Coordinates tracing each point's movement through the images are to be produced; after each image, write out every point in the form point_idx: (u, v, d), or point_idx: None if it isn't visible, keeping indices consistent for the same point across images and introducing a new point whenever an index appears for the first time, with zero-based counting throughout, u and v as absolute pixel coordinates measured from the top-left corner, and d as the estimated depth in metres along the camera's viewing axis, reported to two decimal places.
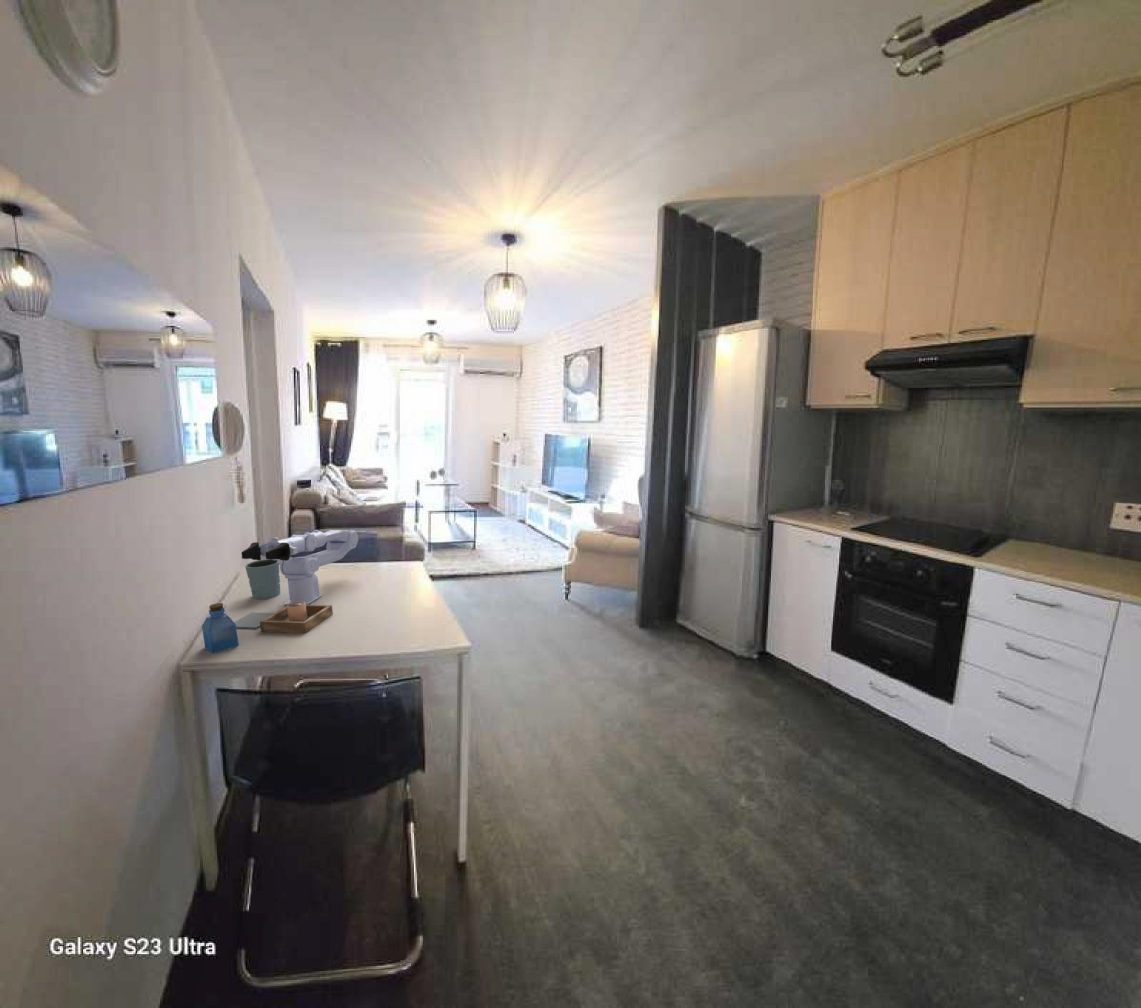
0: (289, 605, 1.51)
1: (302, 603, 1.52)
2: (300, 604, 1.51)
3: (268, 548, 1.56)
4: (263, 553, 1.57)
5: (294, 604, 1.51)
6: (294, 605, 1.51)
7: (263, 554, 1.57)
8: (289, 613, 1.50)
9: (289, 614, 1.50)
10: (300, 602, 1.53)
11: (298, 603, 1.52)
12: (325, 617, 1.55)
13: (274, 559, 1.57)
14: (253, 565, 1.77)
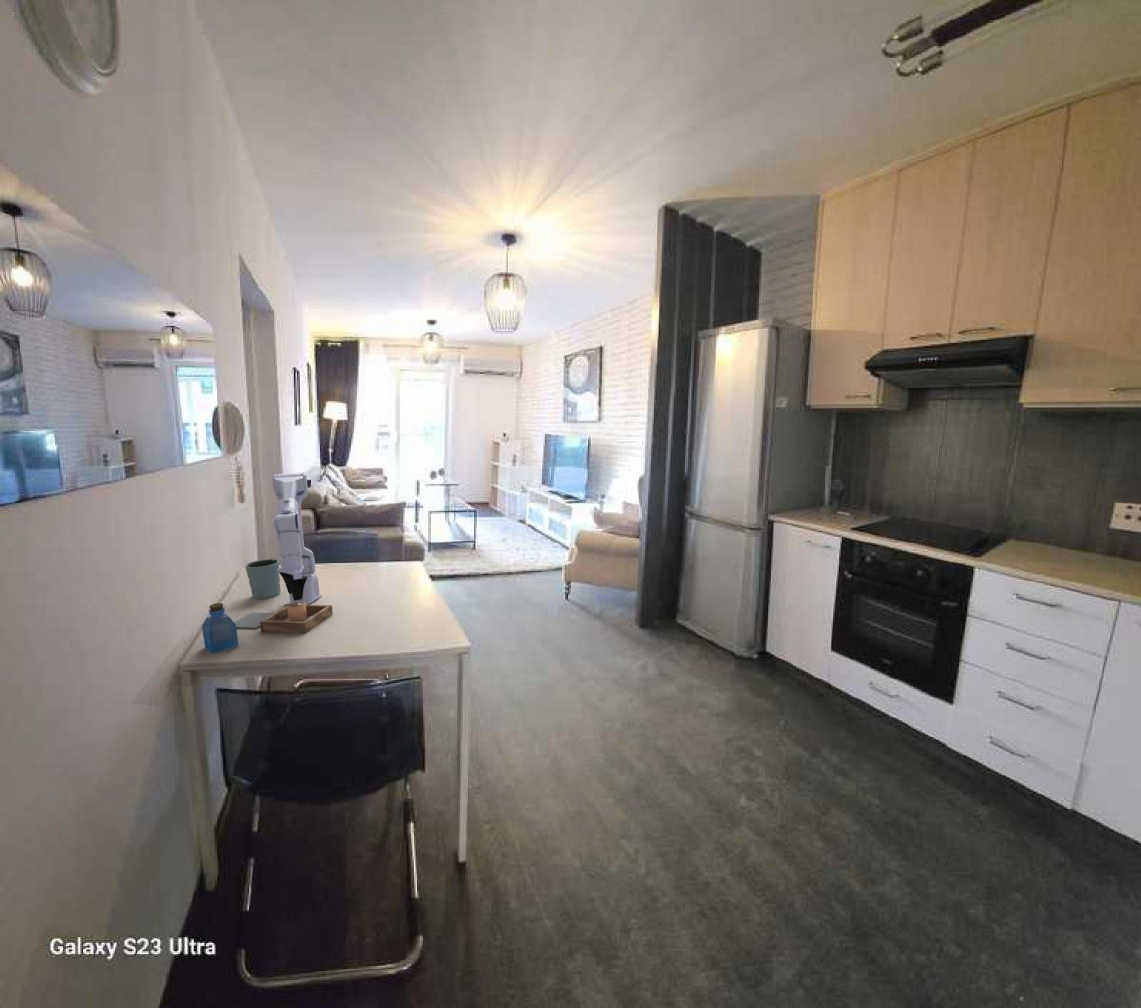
0: (289, 605, 1.51)
1: (302, 603, 1.52)
2: (300, 604, 1.51)
3: None
4: None
5: (294, 604, 1.51)
6: (294, 605, 1.51)
7: None
8: (289, 613, 1.50)
9: (289, 614, 1.50)
10: (300, 602, 1.53)
11: (298, 603, 1.52)
12: (325, 617, 1.55)
13: None
14: (253, 565, 1.77)
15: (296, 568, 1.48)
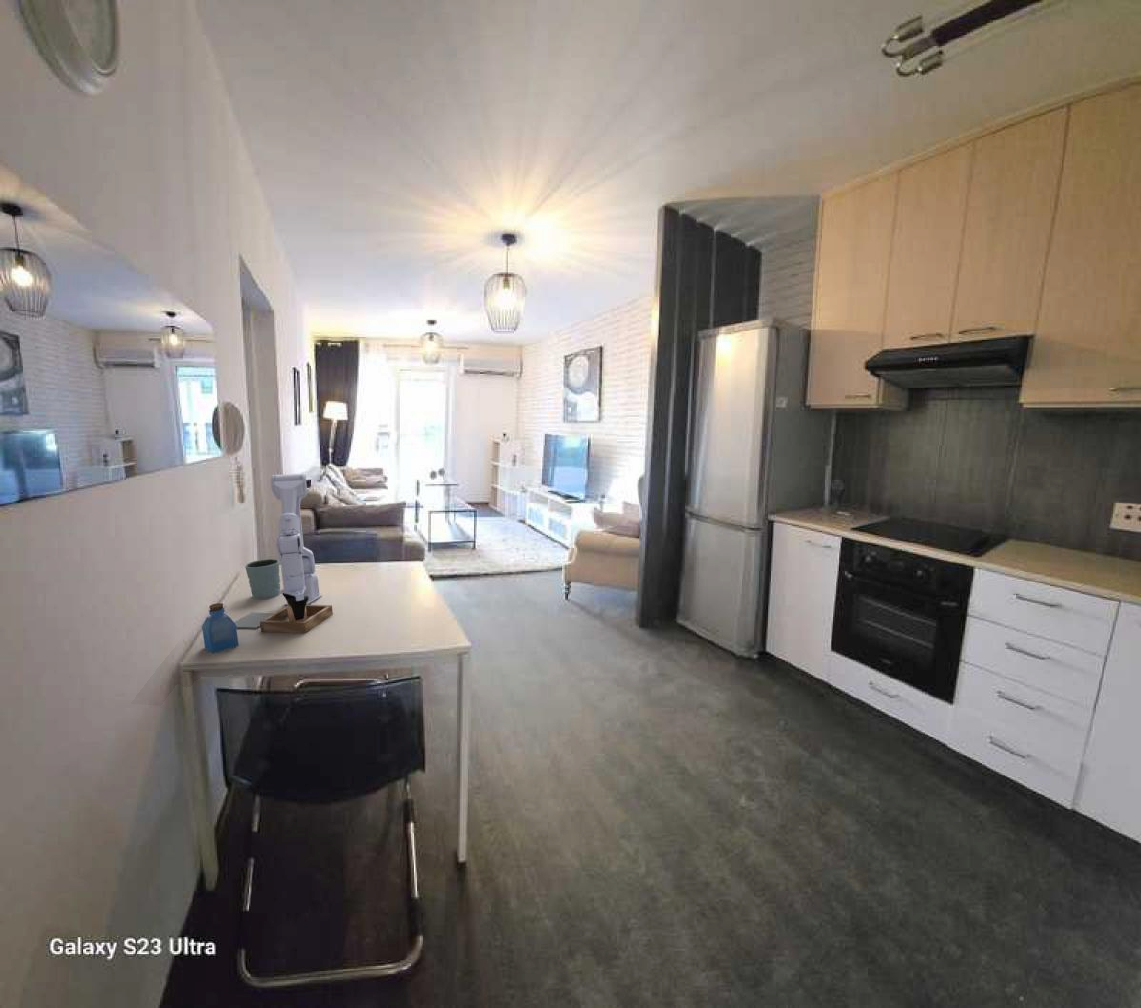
0: (289, 605, 1.51)
1: None
2: None
3: None
4: None
5: None
6: None
7: None
8: (289, 613, 1.50)
9: (289, 614, 1.50)
10: None
11: None
12: (325, 617, 1.55)
13: None
14: (253, 565, 1.77)
15: (298, 589, 1.49)
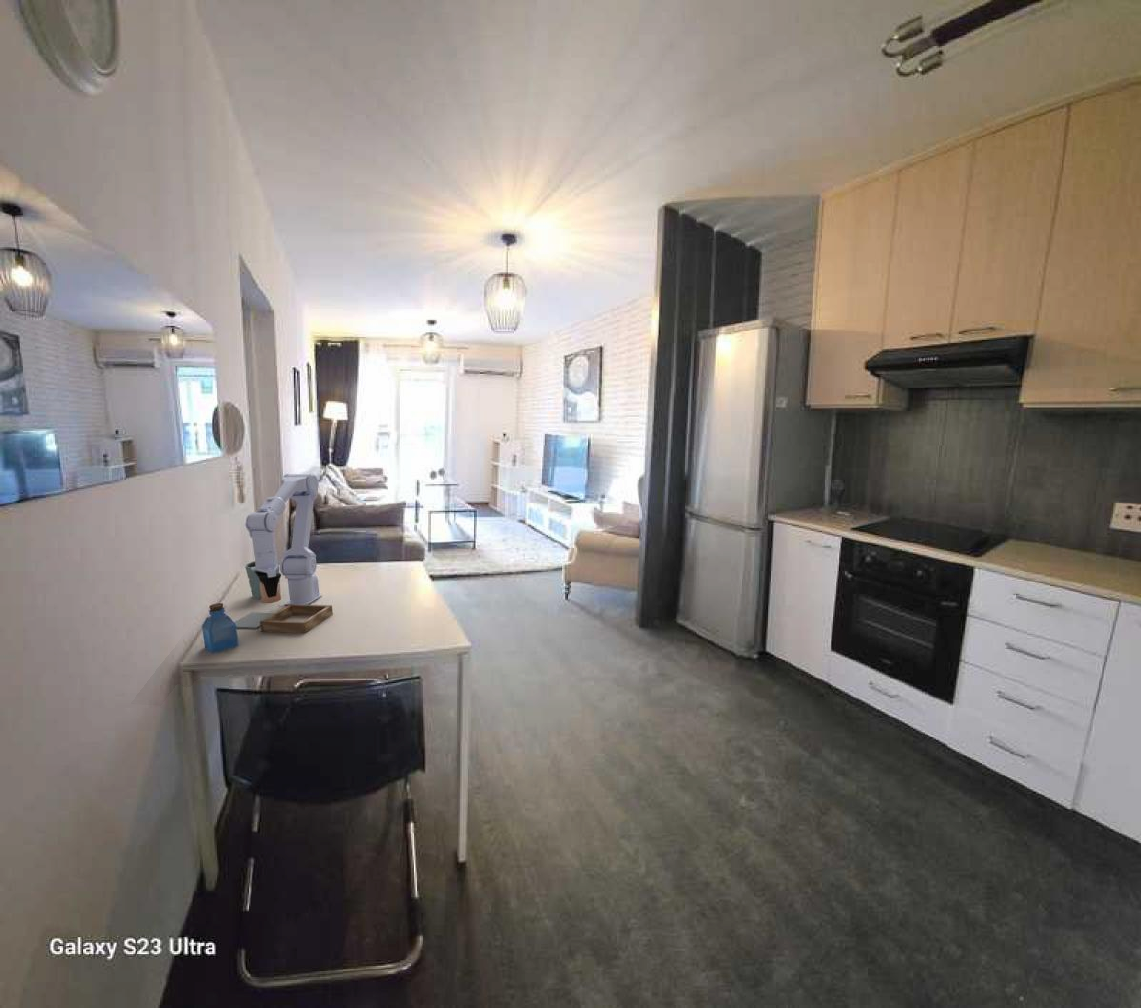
0: None
1: None
2: None
3: None
4: None
5: None
6: None
7: None
8: (261, 590, 1.50)
9: (261, 591, 1.50)
10: None
11: None
12: (325, 617, 1.55)
13: (277, 566, 1.53)
14: (253, 565, 1.77)
15: (270, 566, 1.49)
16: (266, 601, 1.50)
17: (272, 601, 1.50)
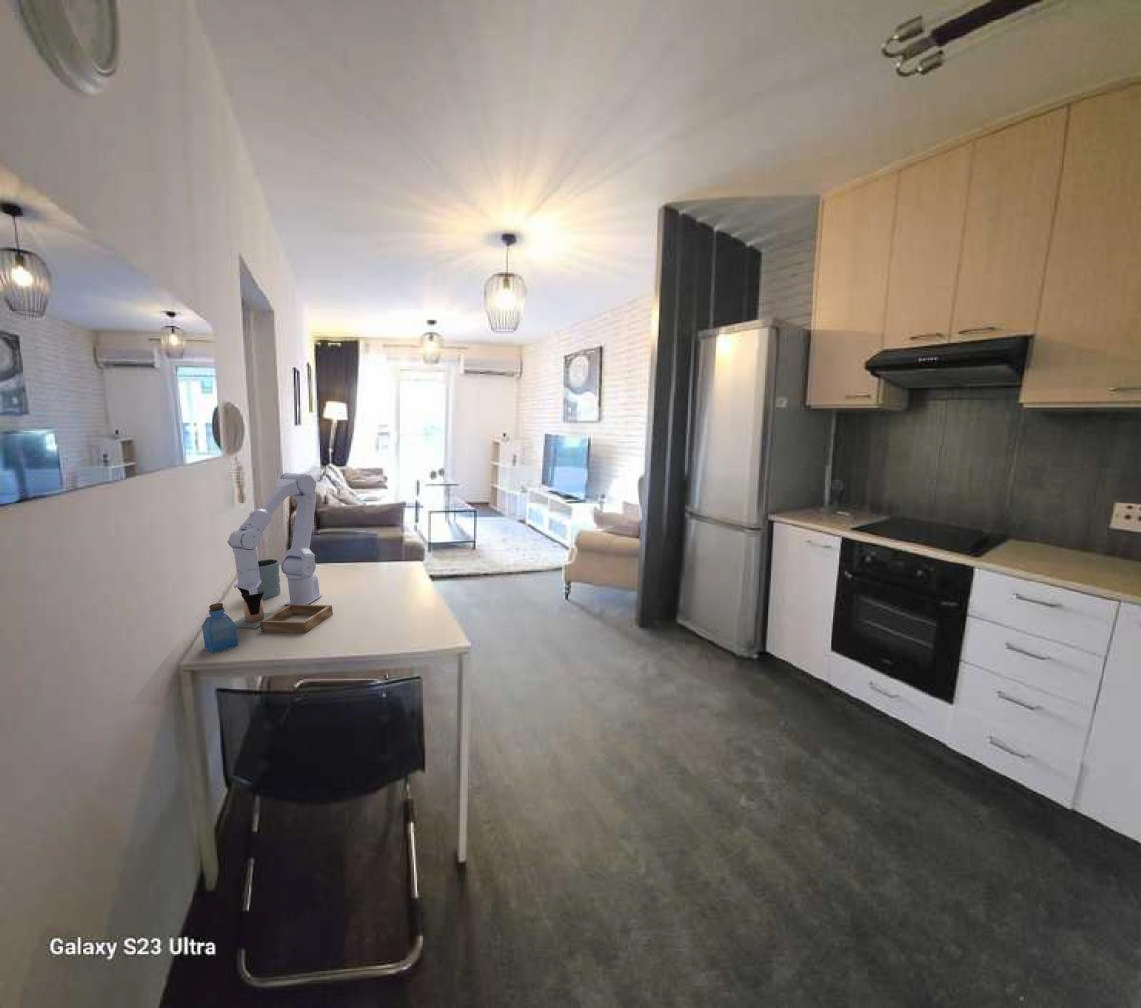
0: (245, 602, 1.52)
1: None
2: None
3: None
4: None
5: None
6: None
7: None
8: (244, 610, 1.52)
9: (244, 611, 1.52)
10: None
11: None
12: (325, 617, 1.55)
13: None
14: None
15: (253, 583, 1.50)
16: (249, 620, 1.52)
17: (255, 620, 1.52)
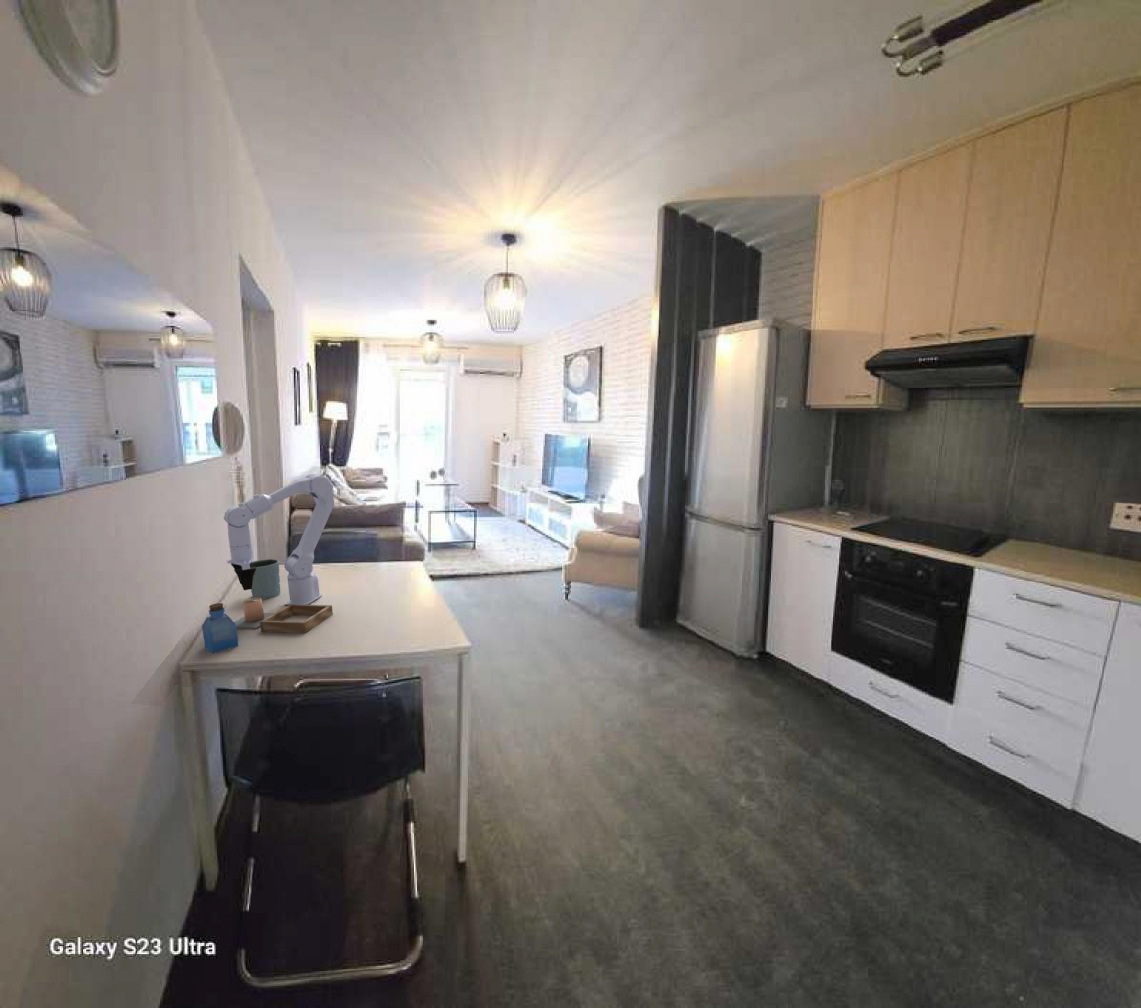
0: (245, 601, 1.52)
1: (258, 599, 1.54)
2: (256, 600, 1.53)
3: None
4: None
5: (250, 600, 1.53)
6: (250, 601, 1.52)
7: None
8: (245, 609, 1.52)
9: (245, 610, 1.52)
10: (256, 598, 1.55)
11: (254, 599, 1.54)
12: (325, 617, 1.55)
13: None
14: (253, 565, 1.77)
15: (246, 559, 1.55)
16: (249, 620, 1.52)
17: (255, 619, 1.52)
